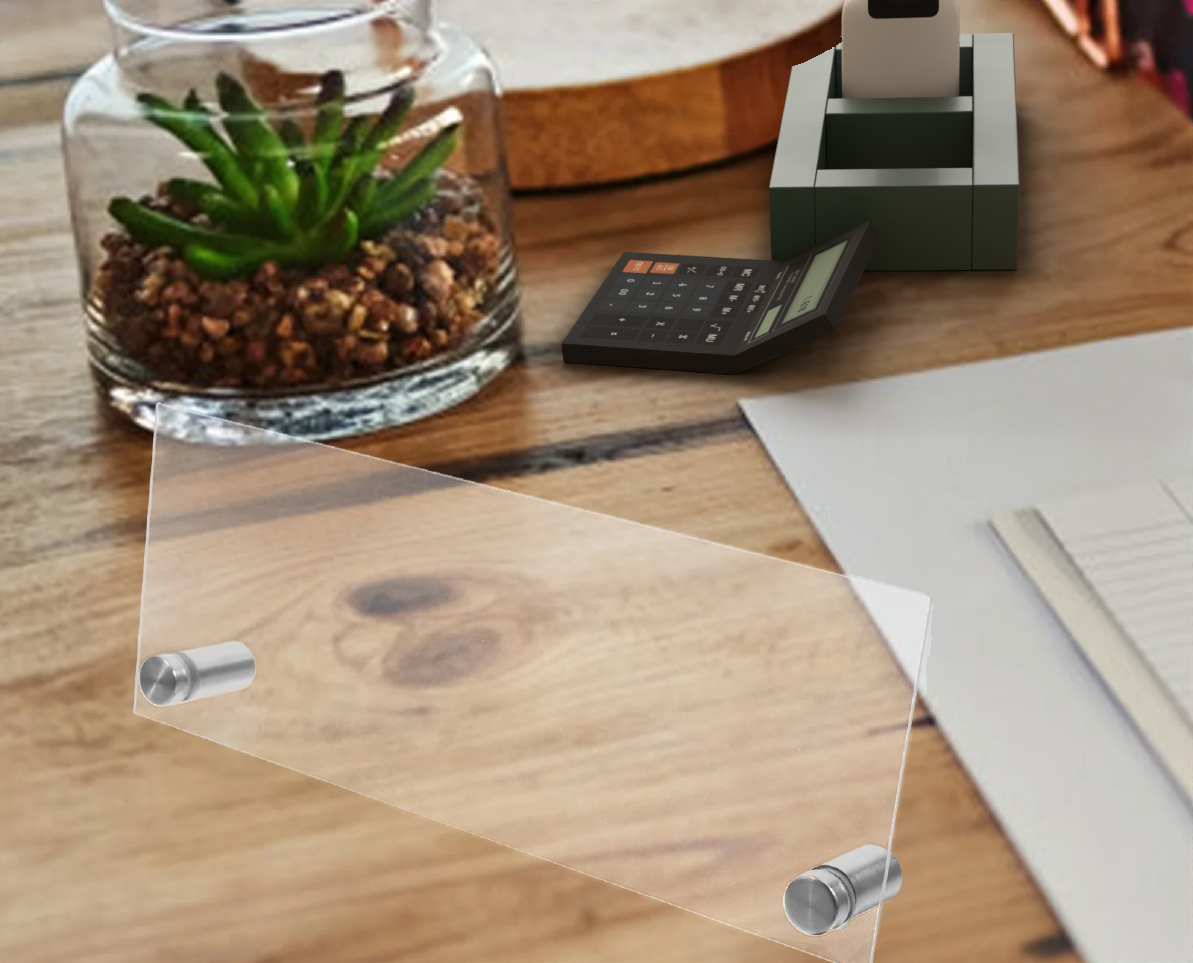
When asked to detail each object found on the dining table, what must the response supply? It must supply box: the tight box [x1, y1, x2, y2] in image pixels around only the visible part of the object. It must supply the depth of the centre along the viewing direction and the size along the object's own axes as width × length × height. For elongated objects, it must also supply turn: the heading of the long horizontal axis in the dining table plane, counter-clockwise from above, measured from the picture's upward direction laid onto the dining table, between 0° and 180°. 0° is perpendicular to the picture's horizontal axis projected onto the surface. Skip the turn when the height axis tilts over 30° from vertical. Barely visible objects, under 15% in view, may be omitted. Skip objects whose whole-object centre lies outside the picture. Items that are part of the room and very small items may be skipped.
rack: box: [768, 32, 1021, 272], centre depth 110 cm, size 11×20×4 cm, turn 172°
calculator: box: [561, 221, 880, 375], centre depth 99 cm, size 9×12×3 cm
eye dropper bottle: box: [841, 0, 961, 99], centre depth 112 cm, size 4×6×12 cm
